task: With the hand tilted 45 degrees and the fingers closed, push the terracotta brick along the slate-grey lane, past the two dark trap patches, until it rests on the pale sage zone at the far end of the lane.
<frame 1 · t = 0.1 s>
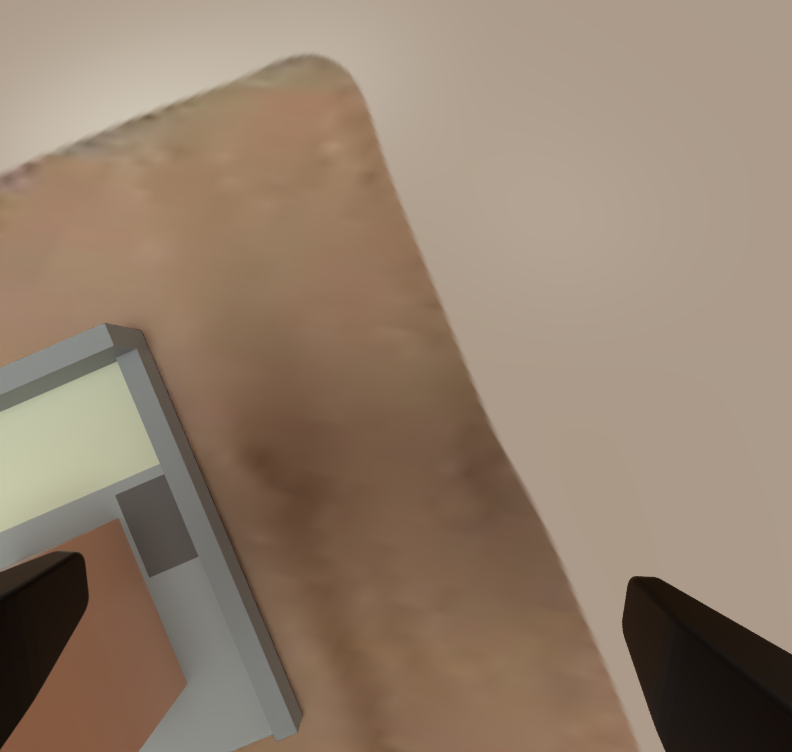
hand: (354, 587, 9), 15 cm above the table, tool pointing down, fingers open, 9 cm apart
slate lane: (95, 587, 24), on the table
terracotta block: (101, 622, 24), resting on slate lane
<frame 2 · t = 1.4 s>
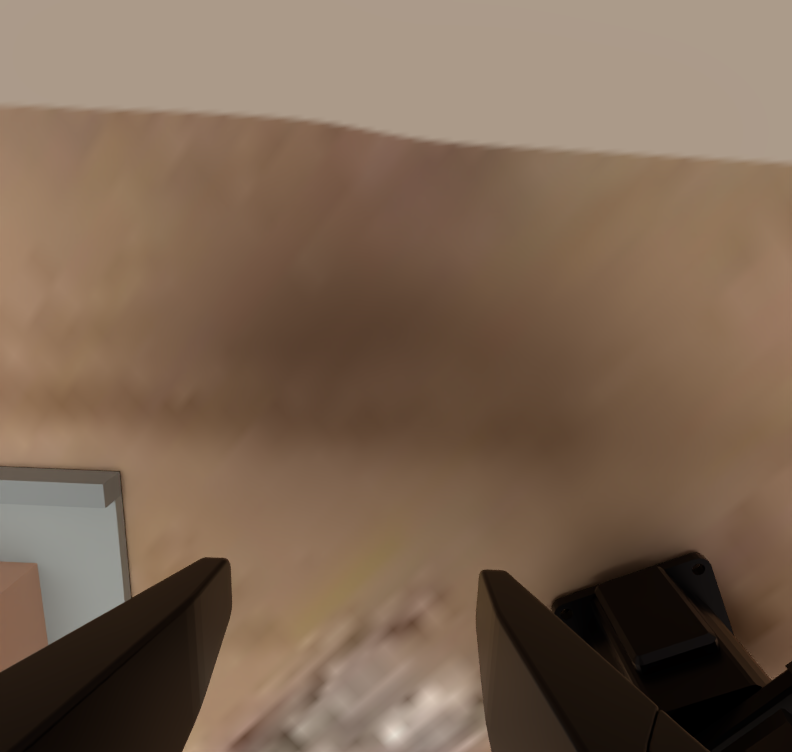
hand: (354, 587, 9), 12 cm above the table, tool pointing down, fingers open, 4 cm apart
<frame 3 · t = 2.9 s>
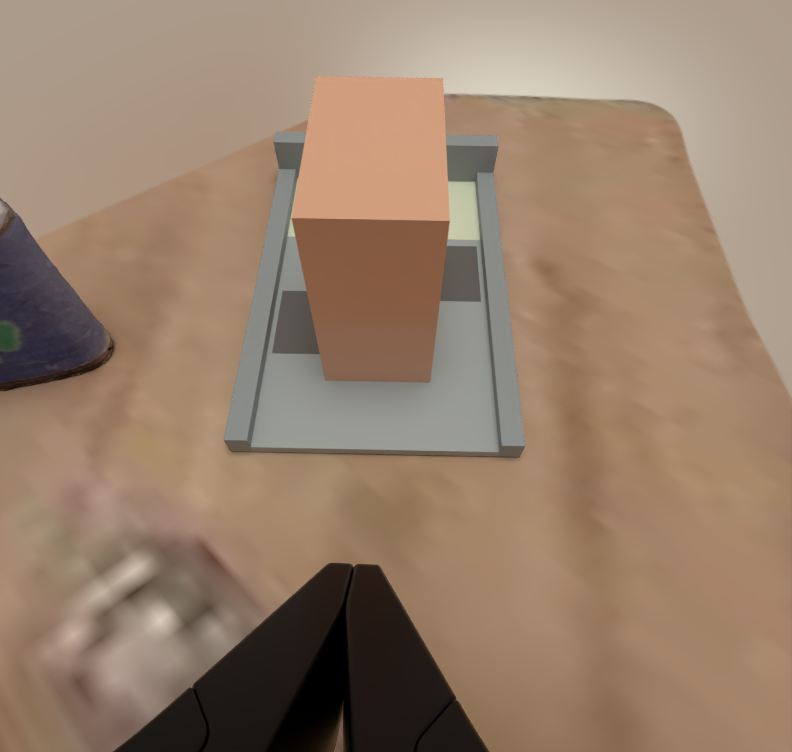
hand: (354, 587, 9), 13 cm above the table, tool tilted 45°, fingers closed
slate lane: (381, 298, 29), on the table
flask: (21, 366, 26), on the table
terracotta block: (380, 314, 27), resting on slate lane
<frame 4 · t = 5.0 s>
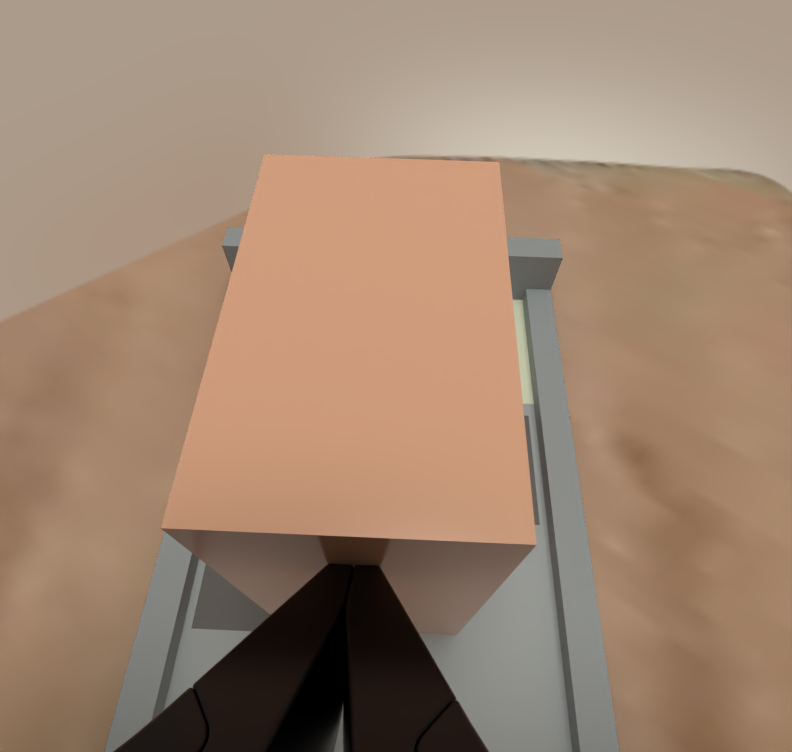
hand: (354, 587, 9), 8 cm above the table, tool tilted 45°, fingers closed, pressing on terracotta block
slate lane: (379, 507, 18), on the table
terracotta block: (379, 498, 18), point 1 cm above the table, touching gripper, slate lane
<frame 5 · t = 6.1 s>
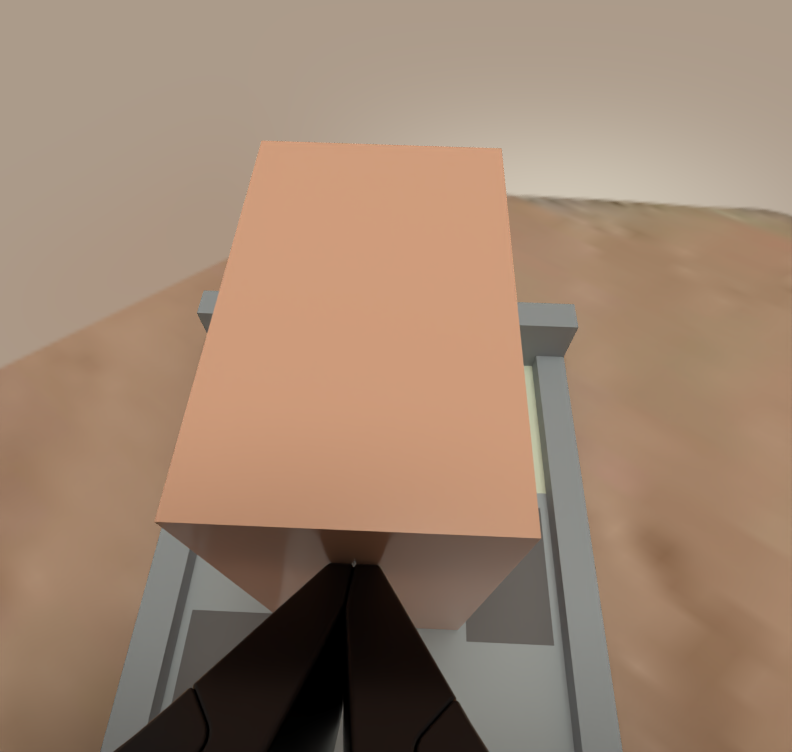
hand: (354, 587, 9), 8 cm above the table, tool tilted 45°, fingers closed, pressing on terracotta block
slate lane: (372, 620, 16), on the table
terracotta block: (379, 492, 17), point 1 cm above the table, touching gripper, slate lane
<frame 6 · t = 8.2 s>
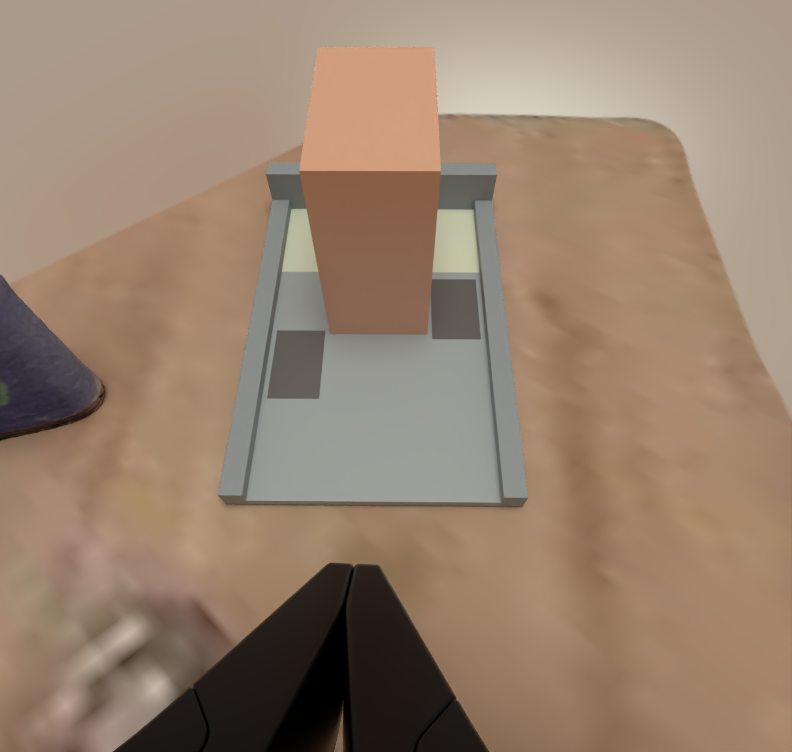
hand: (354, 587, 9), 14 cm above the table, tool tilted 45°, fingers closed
slate lane: (378, 336, 28), on the table
flask: (11, 414, 26), on the table
terracotta block: (380, 275, 29), point 1 cm above the table, touching slate lane
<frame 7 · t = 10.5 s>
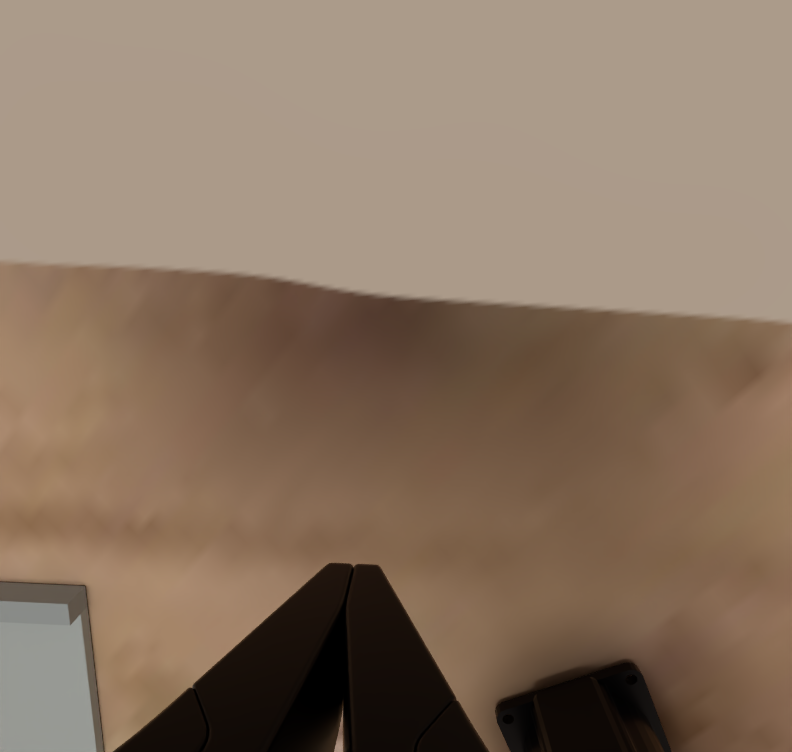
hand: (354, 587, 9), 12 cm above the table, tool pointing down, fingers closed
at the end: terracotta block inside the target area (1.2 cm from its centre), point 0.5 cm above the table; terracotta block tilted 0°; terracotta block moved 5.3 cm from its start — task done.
